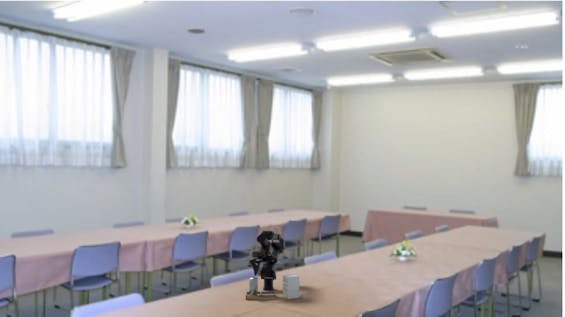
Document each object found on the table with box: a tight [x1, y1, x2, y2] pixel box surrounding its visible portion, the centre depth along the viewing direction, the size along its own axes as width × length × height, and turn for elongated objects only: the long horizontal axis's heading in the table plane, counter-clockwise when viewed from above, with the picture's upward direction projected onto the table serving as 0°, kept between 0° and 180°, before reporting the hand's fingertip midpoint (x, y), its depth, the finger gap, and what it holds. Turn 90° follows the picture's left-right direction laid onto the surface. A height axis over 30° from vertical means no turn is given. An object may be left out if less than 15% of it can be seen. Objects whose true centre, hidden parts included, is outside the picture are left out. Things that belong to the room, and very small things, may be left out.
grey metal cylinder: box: [248, 276, 259, 295], centre depth 294 cm, size 5×5×10 cm
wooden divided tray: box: [245, 290, 277, 301], centre depth 294 cm, size 9×17×2 cm, turn 94°
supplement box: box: [282, 273, 300, 300], centre depth 296 cm, size 7×7×13 cm
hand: (260, 274), depth 302 cm, fingers open, 9 cm apart
